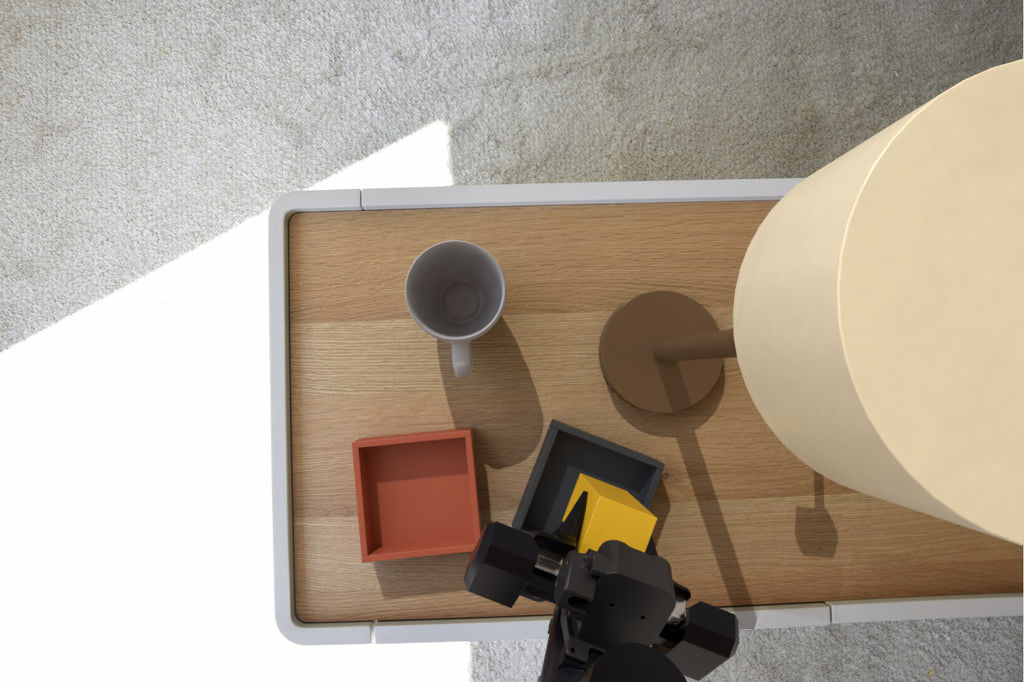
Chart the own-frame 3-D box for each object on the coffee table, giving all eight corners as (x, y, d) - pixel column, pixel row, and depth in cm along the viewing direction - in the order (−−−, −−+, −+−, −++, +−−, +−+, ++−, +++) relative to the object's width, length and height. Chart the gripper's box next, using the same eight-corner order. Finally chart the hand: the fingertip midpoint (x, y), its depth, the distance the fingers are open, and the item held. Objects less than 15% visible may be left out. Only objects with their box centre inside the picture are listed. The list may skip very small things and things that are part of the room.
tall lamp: (715, 432, 66) (1303, 596, 18) (578, 408, 66) (802, 509, 18) (736, 296, 67) (1359, 101, 19) (601, 272, 66) (877, 11, 18)
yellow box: (609, 538, 58) (635, 577, 47) (562, 520, 58) (577, 554, 47) (627, 491, 58) (657, 518, 47) (580, 472, 58) (599, 495, 47)
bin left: (482, 540, 65) (482, 550, 61) (369, 552, 64) (361, 563, 61) (472, 427, 65) (470, 430, 62) (359, 438, 65) (351, 442, 61)
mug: (414, 261, 66) (400, 242, 56) (501, 255, 66) (503, 235, 56) (422, 380, 65) (409, 382, 56) (510, 374, 66) (513, 374, 56)
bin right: (616, 565, 65) (623, 576, 61) (511, 524, 65) (512, 533, 61) (656, 459, 66) (665, 464, 62) (552, 418, 65) (555, 421, 62)
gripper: (793, 722, 35) (775, 492, 47) (471, 597, 35) (533, 398, 47) (697, 774, 43) (702, 564, 55) (431, 671, 43) (493, 483, 54)
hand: (612, 504), depth 52 cm, fingers closed on yellow box, 4 cm apart
